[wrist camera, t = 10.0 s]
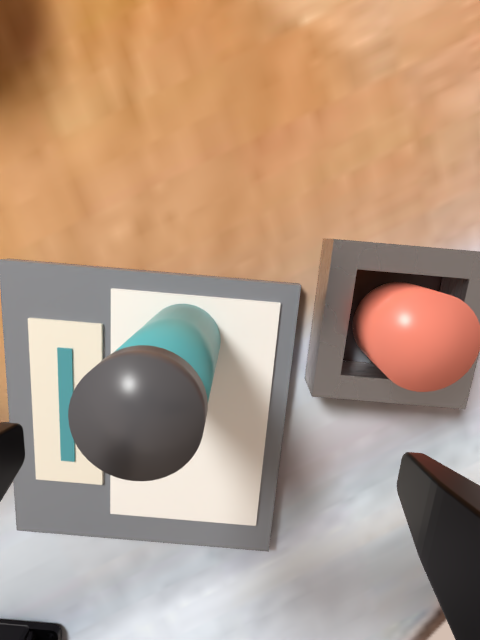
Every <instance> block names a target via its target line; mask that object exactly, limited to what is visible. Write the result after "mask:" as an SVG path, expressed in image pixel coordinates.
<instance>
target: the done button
mask: <svg viewBox="0 0 480 640" xmlns="http://www.w3.org/2000/svg"><path fill="white" fill-rule="evenodd" d="M352 329H353V336H354V339H355V342H356V344H357V345H358V347H359V348H360V350H361V351H362V352H363V353H364V354H365V355H366V356H367V357H368V358H369V359H370V360H371V361H372V362H373V363H374V364H375V365H376V366H377V367H378V368H379V369H380V370H381V371H382V372H383V373H384V374H385V375H386V376H387V377H388V378H389V379H390V380H391V381H392V382H394V383H395V384H396V385H398V386H400V387H402V388H404V389H407V390H411V391H416V392H430V391H436V390H440V389H443V388H445V387H447V386H450V385H452V384H453V383H455V382H456V381H458V380H459V379H460V378H462V377H463V376H464V375H465V374H466V373H467V372H468V371H469V369H470V368H471V367H472V365H473V364H474V362H475V360H476V358H477V356H478V353H479V350H480V324H479V321H478V319H477V316H476V315H475V313H474V312H473V310H472V309H471V308H470V307H469V306H468V305H467V304H466V303H465V302H463V301H462V300H460V299H459V298H456V297H454V296H452V295H448V294H445V293H441V292H438V291H435V290H431V289H428V288H424V287H421V286H418V285H414V284H411V283H407V282H391V283H387V284H384V285H381V286H379V287H377V288H375V289H373V290H372V291H371V292H369V293H368V294H367V295H366V296H365V297H364V298H363V299H362V300H361V302H360V303H359V305H358V307H357V309H356V311H355V314H354V317H353V324H352Z"/></svg>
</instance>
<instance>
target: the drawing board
mask: <svg viewBox="0 0 480 640" xmlns="http://www.w3.org/2000/svg"><path fill="white" fill-rule="evenodd" d="M0 289H1V304H2V318H3V333H4V348H5V363H6V377H7V392H8V407H9V422H10V423H19V424H20V425H22V427H23V432H24V444H25V460H24V463H23V465H22V467H21V469H20V470H19V472H18V473H17V475H16V477H15V478H14V480H13V481H14V496H15V510H16V525H17V530H19V531H31V532H43V533H55V534H67V535H79V536H91V537H103V538H115V539H127V540H139V541H151V542H163V543H175V544H187V545H199V546H211V547H223V548H235V549H247V550H259V551H269V544H270V536H271V528H272V519H273V511H274V503H275V495H276V487H277V479H278V470H279V462H280V454H281V446H282V438H283V430H284V421H285V413H286V405H287V397H288V389H289V381H290V373H291V364H292V356H293V348H294V340H295V332H296V324H297V315H298V307H299V299H300V291H301V285H300V284H298V283H286V282H274V281H263V280H251V279H239V278H227V277H216V276H204V275H192V274H181V273H169V272H157V271H146V270H134V269H122V268H110V267H99V266H87V265H75V264H64V263H52V262H40V261H29V260H17V259H1V260H0ZM175 304H191V305H194V306H197V307H199V308H201V309H203V310H205V311H206V312H207V313H208V314H209V315H210V316H211V317H212V318H213V319H214V321H215V322H216V324H217V326H218V328H219V332H220V338H221V343H220V349H219V354H218V359H217V363H216V368H215V373H214V377H213V382H212V387H211V391H210V396H209V401H208V411H207V417H206V422H205V427H204V432H203V436H202V440H201V443H200V445H199V447H198V450H197V451H196V453H195V454H194V456H193V457H192V458H191V460H190V461H189V462H188V463H187V464H186V465H185V466H184V467H182V468H181V469H180V470H178V471H177V472H175V473H173V474H171V475H169V476H167V477H164V478H161V479H157V480H152V481H130V480H124V479H120V478H117V477H114V476H112V475H109V474H107V473H105V472H103V471H102V470H100V469H99V468H97V467H96V466H94V465H93V464H92V463H91V462H90V461H88V460H87V458H86V457H85V456H84V455H83V454H82V453H81V451H80V450H79V449H78V447H77V445H76V443H75V442H74V439H73V437H72V434H71V431H70V427H69V420H68V409H69V403H70V399H71V396H72V394H73V391H74V390H75V388H76V386H77V384H78V383H79V382H80V380H81V379H82V378H83V377H84V376H85V375H86V374H87V373H88V372H89V371H90V370H91V369H93V368H94V367H95V366H96V365H97V364H98V363H100V362H101V361H102V360H103V359H104V358H106V357H107V356H108V355H110V354H112V353H113V352H114V351H116V350H117V349H118V348H119V347H120V346H121V345H122V344H123V343H125V342H126V341H127V340H128V339H129V338H130V337H131V336H132V335H134V334H135V333H136V332H137V331H138V330H139V329H140V328H142V327H143V326H144V325H145V324H146V323H147V322H148V321H149V320H151V319H152V318H153V317H154V316H155V315H156V314H157V313H158V312H160V311H161V310H162V309H164V308H166V307H168V306H171V305H175Z"/></svg>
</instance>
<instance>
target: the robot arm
mask: <svg viewBox="0 0 480 640" xmlns="http://www.w3.org/2000/svg"><path fill="white" fill-rule="evenodd" d="M24 460H25V444H24V432H23V427H22V425H20V424H19V423H9V422H1V423H0V501H1V500H2V498H3V496H4V495H5V493H6V491H7V490H8V488H9V487H10V485H11V483H12V482H13V480H14V478H15V477H16V475H17V473H18V472H19V470H20V469H21V467H22V465H23V463H24ZM397 491H398V495H399V498H400V501H401V504H402V507H403V510H404V513H405V516H406V519H407V522H408V525H409V528H410V531H411V534H412V537H413V540H414V543H415V546H416V549H417V552H418V555H419V558H420V560H421V562H422V565H423V567H424V570H425V572H426V574H427V576H428V579H429V581H430V583H431V585H432V588H433V590H434V592H435V594H436V597H437V599H438V601H439V603H440V606H441V608H442V610H443V612H444V615H445V617H446V619H447V621H448V624H449V626H450V628H451V630H452V633H453V635H454V637H455V639H456V640H480V486H479V485H478V484H476V483H474V482H472V481H471V480H469V479H467V478H465V477H464V476H462V475H460V474H458V473H457V472H455V471H453V470H451V469H449V468H448V467H446V466H444V465H442V464H441V463H439V462H437V461H435V460H434V459H432V458H430V457H428V456H427V455H425V454H422V453H411V452H406V453H405V454H404V455H403V457H402V460H401V465H400V470H399V475H398V480H397ZM0 640H61V629H60V627H59V626H57V625H55V624H44V623H32V622H20V621H8V620H0Z"/></svg>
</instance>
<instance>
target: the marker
mask: <svg viewBox="0 0 480 640" xmlns="http://www.w3.org/2000/svg"><path fill="white" fill-rule="evenodd" d="M220 343H221V338H220V332H219V328H218V326H217V324H216V322H215V321H214V319H213V318H212V317H211V316H210V315H209V314H208V313H207V312H206V311H205V310H203V309H201V308H199V307H197V306H194V305H191V304H175V305H171V306H168V307H166V308H164V309H162V310H161V311H160V312H158V313H157V314H156V315H155V316H154V317H153V318H152V319H151V320H149V321H148V322H147V323H146V324H145V325H144V326H143V327H142V328H140V329H139V330H138V331H137V332H136V333H135V334H134V335H132V336H131V337H130V338H129V339H128V340H127V341H126V342H125V343H123V344H122V345H121V346H120V347H119V348H118V349H117V350H116V351H114V352H113V353H112V354H110V355H108V356H107V357H106V358H104V359H103V360H102V361H101V362H100V363H98V364H97V365H96V366H95V367H94V368H93V369H91V370H90V371H89V372H88V373H87V374H86V375H85V376H84V377H83V378H82V379H81V380H80V382H79V383H78V384H77V386H76V388H75V390H74V391H73V394H72V396H71V399H70V403H69V409H68V420H69V427H70V431H71V434H72V437H73V439H74V442H75V443H76V445H77V447H78V449H79V450H80V451H81V453H82V454H83V455H84V456H85V457H86V458H87V460H88V461H90V462H91V463H92V464H93V465H94V466H96V467H97V468H99V469H100V470H102V471H103V472H105V473H107V474H109V475H112V476H114V477H117V478H120V479H124V480H130V481H152V480H157V479H161V478H164V477H167V476H169V475H171V474H173V473H175V472H177V471H178V470H180V469H181V468H182V467H184V466H185V465H186V464H187V463H188V462H189V461H190V460H191V458H192V457H193V456H194V454H195V453H196V451H197V450H198V447H199V445H200V443H201V440H202V436H203V432H204V427H205V422H206V417H207V411H208V401H209V396H210V391H211V387H212V382H213V377H214V373H215V368H216V363H217V359H218V354H219V349H220Z"/></svg>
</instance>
